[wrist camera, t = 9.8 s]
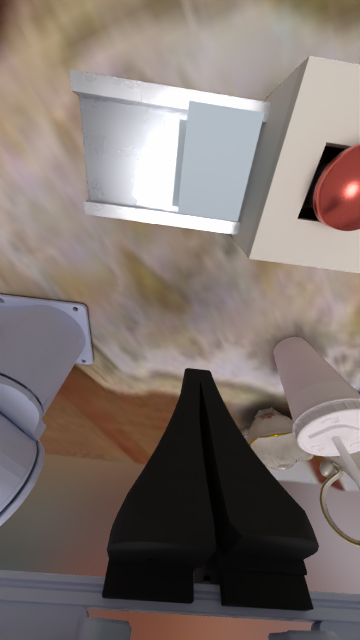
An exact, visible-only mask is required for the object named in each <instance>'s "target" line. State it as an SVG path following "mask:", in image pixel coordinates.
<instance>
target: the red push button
mask: <svg viewBox="0 0 360 640" xmlns="http://www.w3.org/2000/svg"><path fill="white" fill-rule="evenodd" d="M302 206H305V207H309V208H313V209H314V212H315V215H316V217H317V218H318V220H319V221H320V222H321V223H323V224H324V225H326V226H329V227H331V228H334V229H337V230H341V231H354V230H358V229H360V143H359V144H356V145H353V146H351V147H349V148H347V149H345V150H344V151H342V152H341V153H340V154H338V155H337V156H336V157H335V158H334V159H333V160H332V161H331V162H330V163H325V164H318V166H317V169H316V171H315V174H314V176H313V179H312V182H311V184H310V187H309V189H308V192H307V195H306V197H305V200H304V203H303V205H302Z"/></svg>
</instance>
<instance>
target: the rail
mask: <svg viewBox="0 0 360 640" xmlns="http://www.w3.org/2000/svg"><path fill="white" fill-rule="evenodd" d="M70 79H71V88H72V91H73V92H74V93H75V94H77V95H78V96H79V99H80V110H81V120H82V131H83V142H84V152H85V163H86V174H87V184H88V195H89V200H87V201H84V211H85V214H88V215H95V216H103V217H110V218H117V219H125V220H132V221H139V222H147V223H154V224H161V225H169V226H176V227H184V228H191V229H198V230H206V231H213V232H220V233H228V234H235V235H238V232H239V228H240V224H241V223H240V222H239V221H238V222H236V221H229V220H221V219H214V218H207V217H200V216H193V215H185V214H178V213H177V211H178V207H176V206H172V200H173V190H174V179H175V168H176V157H177V146H178V135H179V124H180V119H182V120H187V115H188V106H189V100H191V101H197V102H203V103H209V104H215V105H221V106H227V107H234V108H240V109H246V110H252V111H258V112H264V117H263V121H262V125H263V124H265V123H266V122H267V118H268V115H269V111H270V107H271V103H268V102H262V101H256V100H250V99H244V98H238V97H232V96H226V95H220V94H214V93H208V92H202V91H196V90H190V89H184V88H178V87H172V86H166V85H160V84H154V83H148V82H142V81H136V80H130V79H124V78H118V77H112V76H106V75H100V74H94V73H88V72H81V71H75V70H70ZM262 125H261V126H262ZM260 130H261V129H260ZM259 134H260V133H259ZM258 138H259V137H258ZM257 142H258V141H257ZM256 146H257V145H256ZM255 150H256V149H255ZM254 154H255V153H254ZM253 158H254V157H253ZM252 162H253V161H252ZM251 166H252V165H251ZM250 170H251V169H250ZM249 174H250V173H249ZM248 178H249V177H248ZM247 182H248V181H247ZM241 207H242V206H241ZM240 211H241V210H240ZM239 215H240V214H239ZM238 219H239V218H238Z"/></svg>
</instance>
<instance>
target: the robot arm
mask: <svg viewBox="0 0 360 640" xmlns="http://www.w3.org/2000/svg"><path fill="white" fill-rule="evenodd" d="M2 299H3V300H4V301H3V300H2ZM74 307H76V308H78V310H77V309H75V308H74ZM93 361H94V359H93V352H92V344H91V336H90V328H89V321H88V313H87V307H86V306H85V305H84V304H80V303H71V302H63V301H54V300H46V299H37V298H28V297H20V296H11V295H3V294H0V525H1V524H3V523H4V522H5V521H6V520H7V519H8V518H9V517H10V516H11V515H12V514H13V513H14V512H15V511H16V510H17V508H18V507H19V506H20V505H21V504H22V502H23V501H24V500H25V498H26V497H27V496H28V494H29V493H30V491H31V489H32V488H33V486H34V485H35V483H36V480H37V479H38V477H39V474H40V471H41V469H42V466H43V462H44V455H45V453H44V447H43V445H42V443H41V442H40V441H39V439H40V437H41V435H42V433H43V432H44V430H45V428H46V425H45V424H44V423H43V421H42V418H43V416H44V414H45V413H46V411H47V409H48V408H49V406H50V404H51V403H52V401H53V399H54V398H55V396H56V394H57V393H58V391H59V389H60V387H61V386H62V384H63V382H64V381H65V379H66V377H67V376H68V374H69V372H70V371H71V369H72V367H73V366H74V364H75V363H79V364H92V363H93ZM318 547H319V545H318V542H317V539H316V537H315V534H314V531H313V528H312V526H311V524H310V522H309V519H308V517H307V515H306V513H305V511H304V510H303V509H302V508H301V507H300V506H299V505H298V503H297V502H295V500H294V499H293V498H292V497H291V496H290V495H289V494H288V492H287V491H286V490H285V489H284V488H283V487H282V486H281V485H280V483H279V482H278V481H277V480H276V479H275V477H274V476H273V475H272V474H271V473H270V471H269V470H268V469H267V468H266V466H265V465H264V464H263V462H262V461H261V460H260V459H259V457H258V456H257V455H256V453H255V452H254V451H253V449H252V448H251V446H250V445H249V444H248V442H247V441H246V439H245V438H244V436H243V435H242V433H241V432H240V430H239V428H238V427H237V425H236V423H235V422H234V420H233V418H232V417H231V415H230V413H229V411H228V409H227V408H226V406H225V404H224V402H223V400H222V398H221V396H220V393H219V391H218V389H217V387H216V384H215V382H214V380H213V377H212V374H211V372H210V371H209V370H199V369H190V368H187V369H185V373H184V378H183V383H182V388H181V394H180V397H179V400H178V403H177V405H176V408H175V410H174V413H173V415H172V417H171V420H170V422H169V424H168V426H167V428H166V430H165V432H164V434H163V436H162V438H161V440H160V442H159V444H158V446H157V447H156V449H155V451H154V453H153V454H152V456H151V458H150V459H149V461H148V463H147V464H146V466H145V468H144V469H143V471H142V473H141V474H140V476H139V477H138V479H137V480H136V482H135V483H134V485H133V486H132V488H131V489H130V491H129V492H128V494H127V496H126V498H125V500H124V502H123V504H122V506H121V508H120V510H119V512H118V514H117V516H116V519H115V521H114V523H113V526H112V529H111V533H110V538H109V542H108V547H107V552H108V556H109V562H108V567H107V572H106V577H95V576H80V575H66V574H65V575H64V574H50V573H36V572H21V571H6V570H0V640H130V636H131V626H130V625H129V622H128V621H122V620H113V619H104V618H89V613H88V611H87V609H102V610H119V611H134V612H151V613H167V614H184V615H199V616H200V615H201V616H217V617H233V618H250V619H265V620H281V621H298V622H313V624H312V627H311V631H292V630H289V631H287V632H281V633H270V634H269V636H268V638H269V640H360V594H346V593H331V592H317V591H308V587H307V584H306V580H305V577H304V575H307V570H306V567H305V564H304V561H303V560H304V559H305V558H307V557H309V556H311V555H313V554H315V553H316V552H317V551H318ZM193 572H194V573H193Z"/></svg>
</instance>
